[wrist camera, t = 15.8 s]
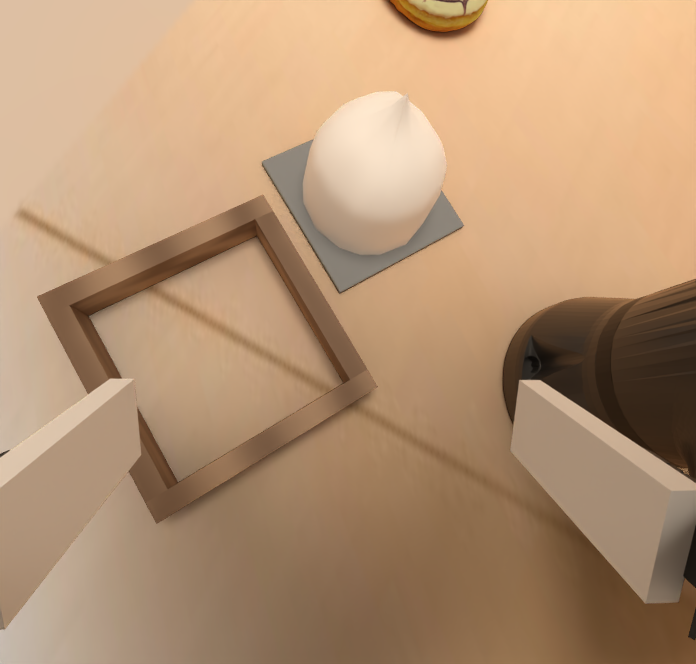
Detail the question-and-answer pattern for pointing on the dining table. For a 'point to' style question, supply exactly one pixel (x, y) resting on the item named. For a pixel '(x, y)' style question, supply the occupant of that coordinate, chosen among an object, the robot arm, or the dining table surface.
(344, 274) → the grey mat
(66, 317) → the walnut collar
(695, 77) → the dining table surface
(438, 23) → the decorated donut
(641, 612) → the dining table surface
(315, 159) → the teardrop
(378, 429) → the dining table surface
